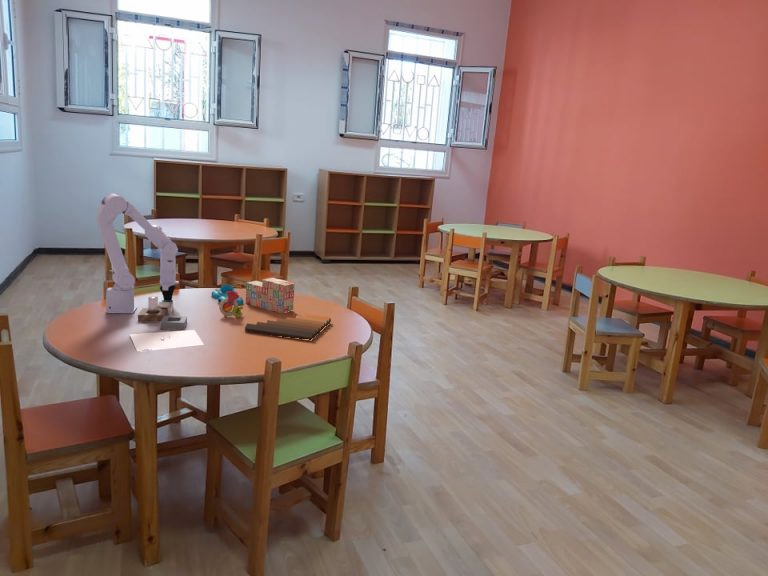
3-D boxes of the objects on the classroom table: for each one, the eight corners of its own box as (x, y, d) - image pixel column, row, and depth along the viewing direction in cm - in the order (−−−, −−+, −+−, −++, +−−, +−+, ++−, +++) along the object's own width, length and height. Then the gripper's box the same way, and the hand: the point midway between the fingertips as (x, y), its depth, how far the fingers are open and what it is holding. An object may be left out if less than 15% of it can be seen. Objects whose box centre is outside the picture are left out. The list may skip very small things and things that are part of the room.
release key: (159, 312, 219) (159, 304, 219) (162, 307, 226) (162, 299, 226) (170, 312, 220) (170, 304, 220) (172, 307, 227) (172, 300, 227)
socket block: (137, 321, 207) (137, 314, 207) (142, 314, 216) (142, 308, 215) (164, 321, 209) (164, 315, 209) (167, 315, 218) (167, 308, 217)
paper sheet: (201, 331, 203) (201, 328, 203) (213, 363, 178) (213, 360, 178) (129, 334, 193) (129, 331, 193) (130, 368, 168) (130, 365, 168)
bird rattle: (227, 324, 219) (248, 314, 222) (215, 299, 215) (237, 290, 218) (224, 320, 225) (245, 310, 227) (213, 295, 221) (234, 286, 223)
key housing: (156, 314, 217) (156, 306, 217) (159, 310, 223) (159, 301, 222) (170, 314, 218) (170, 306, 218) (173, 310, 224) (173, 302, 223)
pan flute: (244, 333, 206) (310, 343, 202) (244, 324, 205) (311, 334, 201) (270, 316, 230) (330, 324, 226) (271, 308, 229) (331, 316, 225)
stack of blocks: (245, 303, 243) (246, 275, 240) (255, 301, 248) (256, 273, 245) (283, 314, 232) (284, 284, 230) (293, 311, 238) (295, 282, 235)
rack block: (160, 329, 201) (160, 322, 201) (163, 322, 209) (163, 315, 208) (184, 329, 203) (184, 322, 202) (186, 322, 211) (187, 316, 210)
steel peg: (147, 319, 211) (147, 298, 209) (149, 316, 214) (149, 296, 212) (157, 319, 211) (156, 298, 210) (158, 317, 214) (158, 296, 213)
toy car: (234, 295, 256) (234, 280, 255) (246, 305, 241) (246, 290, 240) (209, 296, 251) (209, 281, 249) (220, 307, 236) (220, 291, 234)
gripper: (176, 274, 219) (176, 308, 222) (180, 267, 232) (180, 299, 235) (156, 274, 217) (156, 308, 220) (162, 266, 231) (162, 298, 234)
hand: (167, 303), depth 228 cm, fingers closed
